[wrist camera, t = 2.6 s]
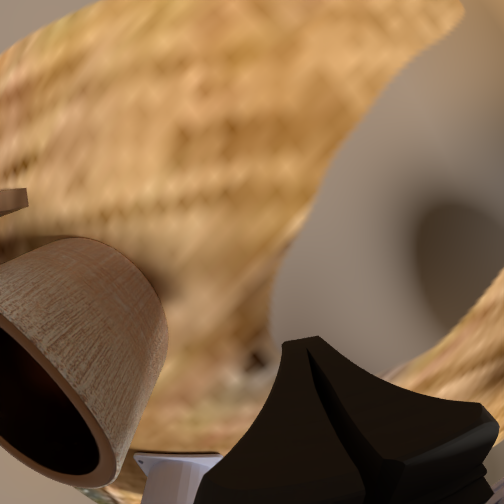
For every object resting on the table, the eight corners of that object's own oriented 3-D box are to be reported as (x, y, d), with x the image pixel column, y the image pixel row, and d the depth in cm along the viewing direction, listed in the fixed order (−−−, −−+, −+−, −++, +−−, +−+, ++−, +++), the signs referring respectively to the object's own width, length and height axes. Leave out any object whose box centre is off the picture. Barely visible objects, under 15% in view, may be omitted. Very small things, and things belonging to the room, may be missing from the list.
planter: (83, 395, 18) (30, 481, 9) (10, 272, 16) (-83, 323, 6) (202, 364, 18) (177, 492, 8) (119, 203, 15) (-4, 234, 6)
